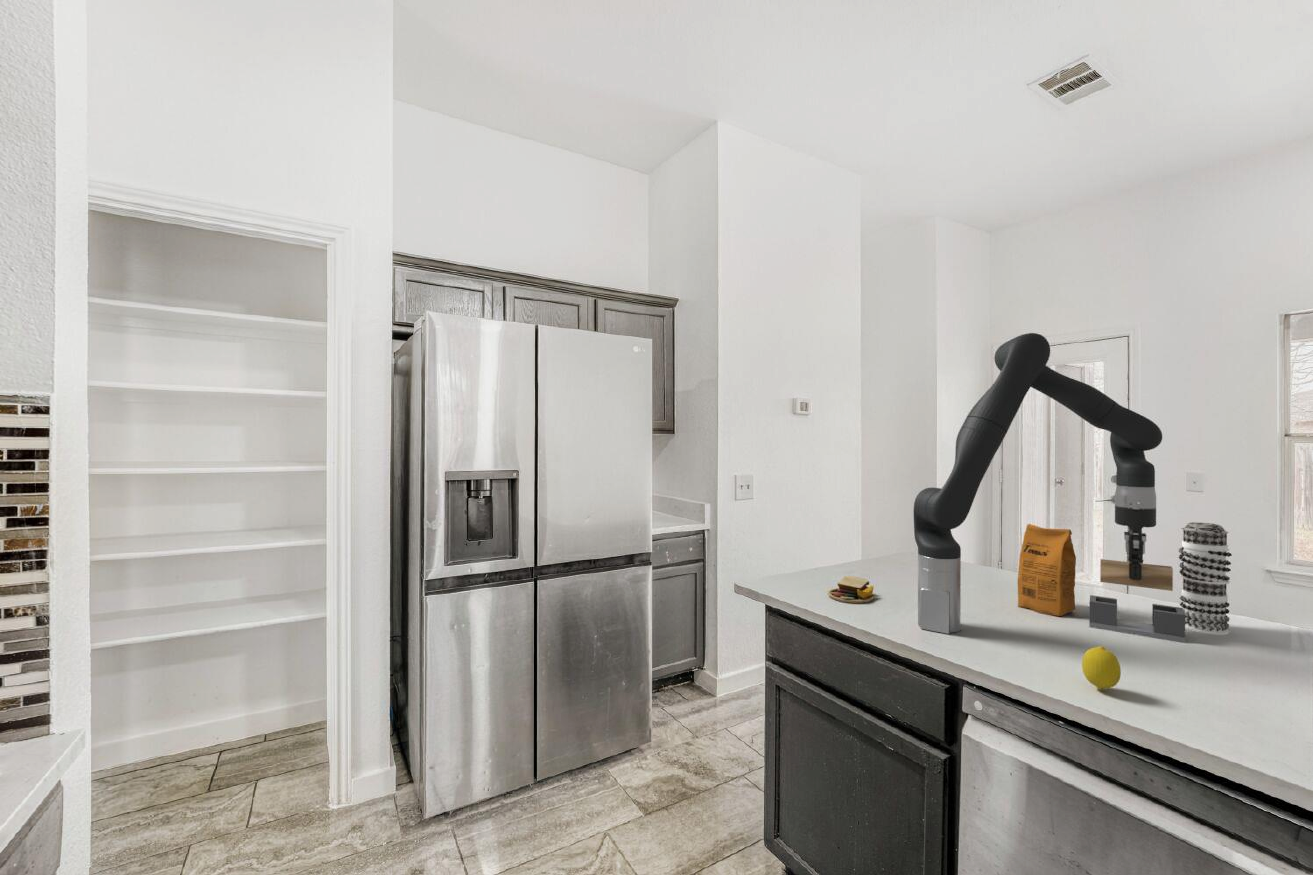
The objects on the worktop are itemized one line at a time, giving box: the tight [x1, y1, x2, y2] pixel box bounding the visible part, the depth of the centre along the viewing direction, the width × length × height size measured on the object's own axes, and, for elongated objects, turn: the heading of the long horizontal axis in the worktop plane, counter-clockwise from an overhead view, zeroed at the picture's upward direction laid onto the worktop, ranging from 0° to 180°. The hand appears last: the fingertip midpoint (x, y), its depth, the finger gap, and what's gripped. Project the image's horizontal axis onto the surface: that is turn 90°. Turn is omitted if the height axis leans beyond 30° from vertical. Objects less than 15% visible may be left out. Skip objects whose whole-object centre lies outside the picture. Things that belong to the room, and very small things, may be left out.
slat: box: [1099, 558, 1174, 592], centre depth 136 cm, size 3×13×5 cm, turn 52°
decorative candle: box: [1178, 522, 1233, 636], centre depth 136 cm, size 9×9×25 cm
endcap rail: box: [1088, 594, 1186, 644], centre depth 136 cm, size 8×17×6 cm, turn 52°
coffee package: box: [1017, 523, 1077, 617], centre depth 152 cm, size 10×12×22 cm
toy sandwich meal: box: [827, 575, 875, 604], centre depth 163 cm, size 12×14×5 cm
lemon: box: [1081, 645, 1122, 691], centre depth 104 cm, size 6×6×8 cm
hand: (1134, 577), depth 136 cm, fingers closed on slat, 3 cm apart
